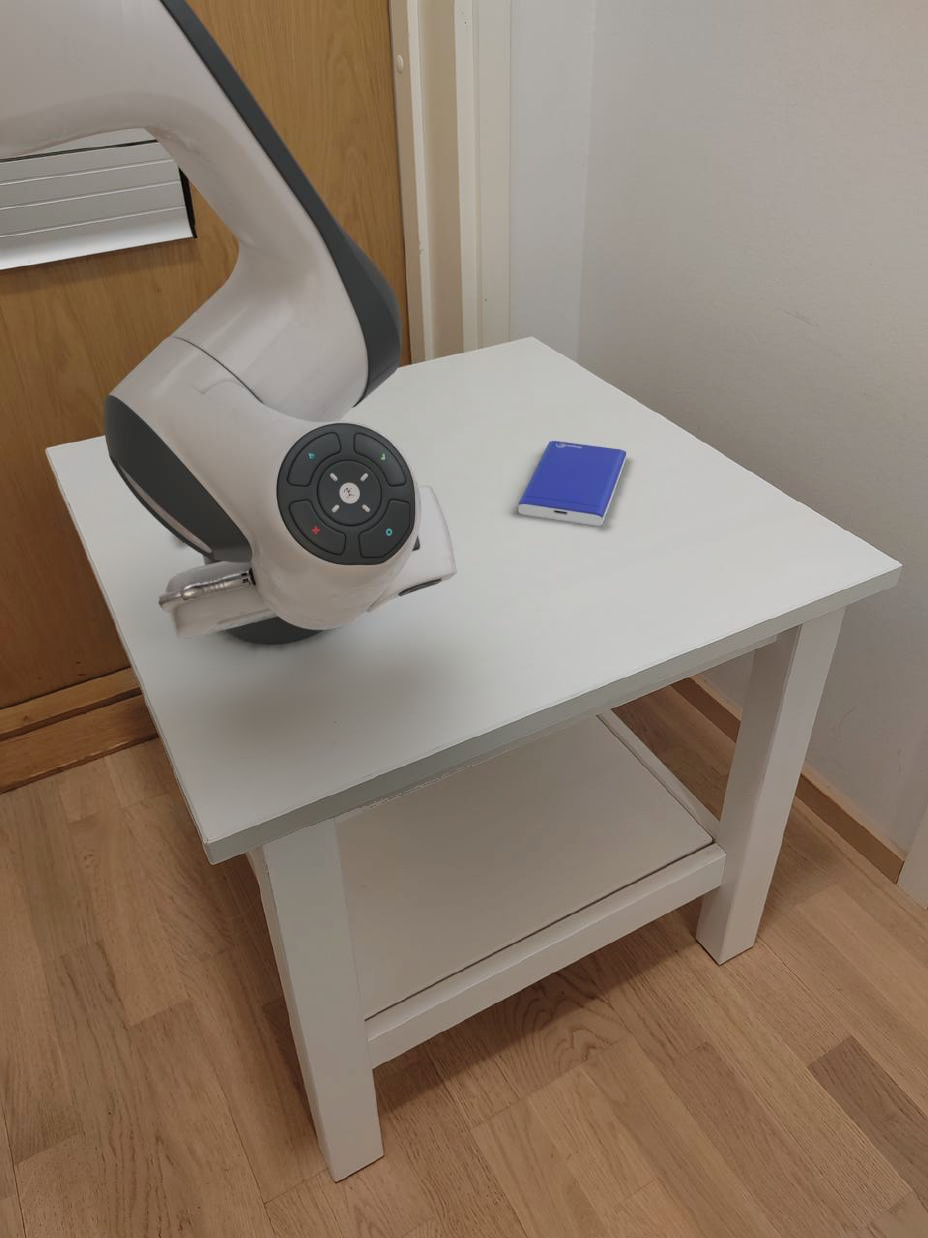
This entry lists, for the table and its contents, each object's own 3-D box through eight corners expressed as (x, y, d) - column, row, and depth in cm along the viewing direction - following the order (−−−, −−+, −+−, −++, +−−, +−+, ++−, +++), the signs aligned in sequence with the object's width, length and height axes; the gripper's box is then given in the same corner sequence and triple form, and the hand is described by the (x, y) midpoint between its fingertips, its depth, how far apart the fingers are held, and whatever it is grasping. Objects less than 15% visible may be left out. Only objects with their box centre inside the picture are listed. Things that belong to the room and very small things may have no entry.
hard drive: (549, 439, 100) (518, 500, 91) (626, 449, 98) (603, 513, 89) (548, 452, 101) (518, 514, 92) (625, 463, 99) (602, 527, 90)
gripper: (169, 647, 58) (181, 668, 72) (480, 569, 64) (437, 601, 77) (143, 549, 59) (160, 588, 72) (454, 479, 64) (416, 527, 77)
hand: (305, 594), depth 74 cm, fingers closed
